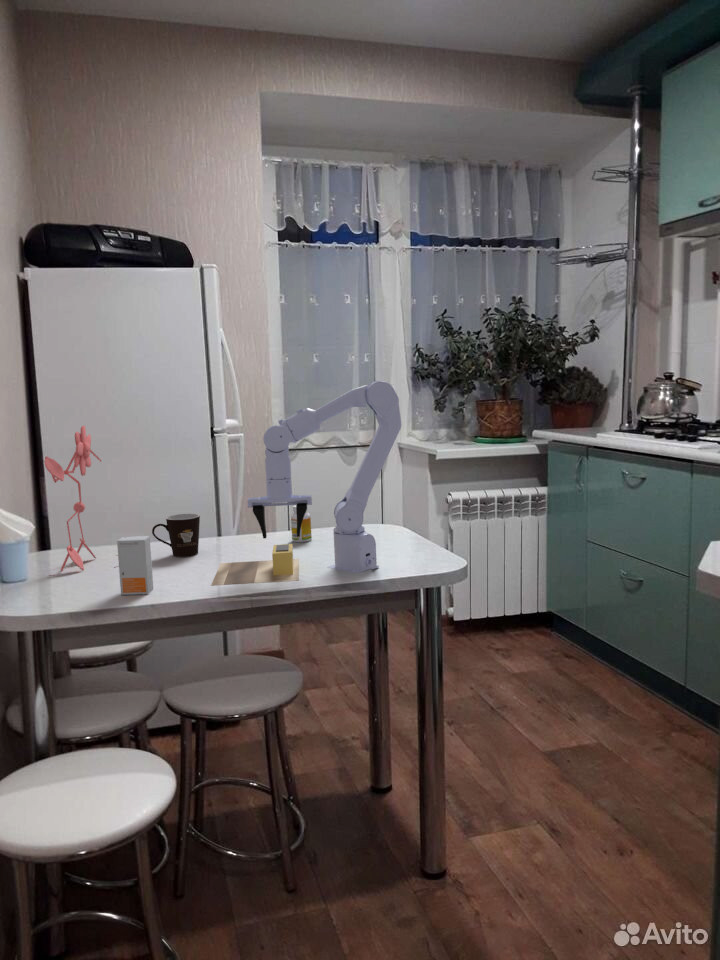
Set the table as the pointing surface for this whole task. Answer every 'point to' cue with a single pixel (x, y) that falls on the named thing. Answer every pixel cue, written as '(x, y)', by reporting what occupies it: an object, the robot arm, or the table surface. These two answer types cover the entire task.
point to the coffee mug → (182, 534)
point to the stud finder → (282, 559)
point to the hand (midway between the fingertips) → (281, 536)
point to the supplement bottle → (305, 527)
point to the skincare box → (135, 565)
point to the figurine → (83, 461)
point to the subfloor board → (252, 573)
